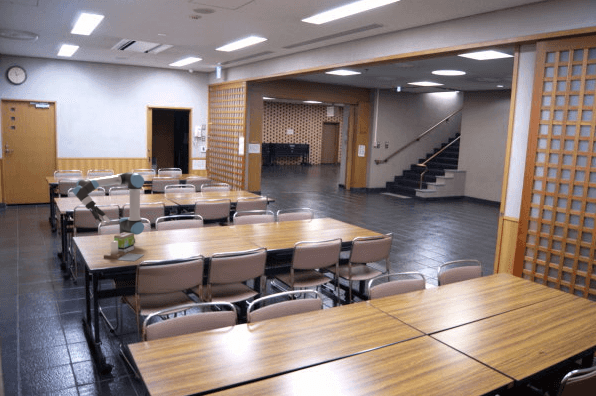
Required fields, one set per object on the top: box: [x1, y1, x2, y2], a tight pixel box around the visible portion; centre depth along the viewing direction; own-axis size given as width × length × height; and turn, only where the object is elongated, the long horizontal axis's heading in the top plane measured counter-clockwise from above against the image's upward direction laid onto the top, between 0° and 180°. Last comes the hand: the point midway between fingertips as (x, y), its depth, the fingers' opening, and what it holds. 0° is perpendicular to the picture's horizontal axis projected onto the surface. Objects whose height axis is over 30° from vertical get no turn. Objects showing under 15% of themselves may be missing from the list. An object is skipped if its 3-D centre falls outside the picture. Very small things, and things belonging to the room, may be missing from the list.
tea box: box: [113, 232, 135, 254], centre depth 392 cm, size 15×10×15 cm, turn 168°
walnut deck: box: [103, 251, 126, 260], centre depth 377 cm, size 14×11×2 cm
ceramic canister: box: [110, 240, 118, 254], centre depth 376 cm, size 6×6×10 cm
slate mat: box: [116, 252, 145, 262], centre depth 375 cm, size 18×14×1 cm
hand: (106, 223), depth 373 cm, fingers open, 13 cm apart
